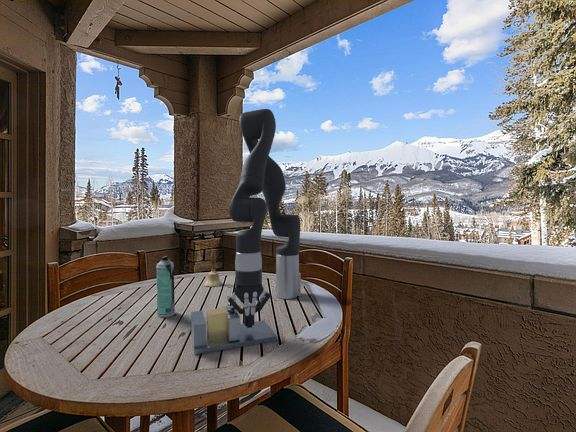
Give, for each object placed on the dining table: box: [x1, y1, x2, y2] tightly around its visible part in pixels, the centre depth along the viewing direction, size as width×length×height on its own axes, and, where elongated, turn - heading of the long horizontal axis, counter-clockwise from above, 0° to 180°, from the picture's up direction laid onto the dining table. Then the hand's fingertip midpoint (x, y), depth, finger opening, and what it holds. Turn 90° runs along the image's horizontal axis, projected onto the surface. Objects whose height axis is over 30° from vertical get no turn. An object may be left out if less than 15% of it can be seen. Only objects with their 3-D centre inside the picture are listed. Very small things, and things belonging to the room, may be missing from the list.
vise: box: [190, 310, 278, 355], centre depth 86 cm, size 22×12×7 cm, turn 111°
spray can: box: [156, 255, 176, 318], centre depth 104 cm, size 6×6×20 cm
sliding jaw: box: [222, 305, 241, 341], centre depth 86 cm, size 3×10×7 cm, turn 21°
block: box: [206, 307, 227, 340], centre depth 85 cm, size 5×4×7 cm
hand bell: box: [203, 250, 223, 288], centre depth 141 cm, size 8×8×16 cm
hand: (249, 326), depth 88 cm, fingers closed
